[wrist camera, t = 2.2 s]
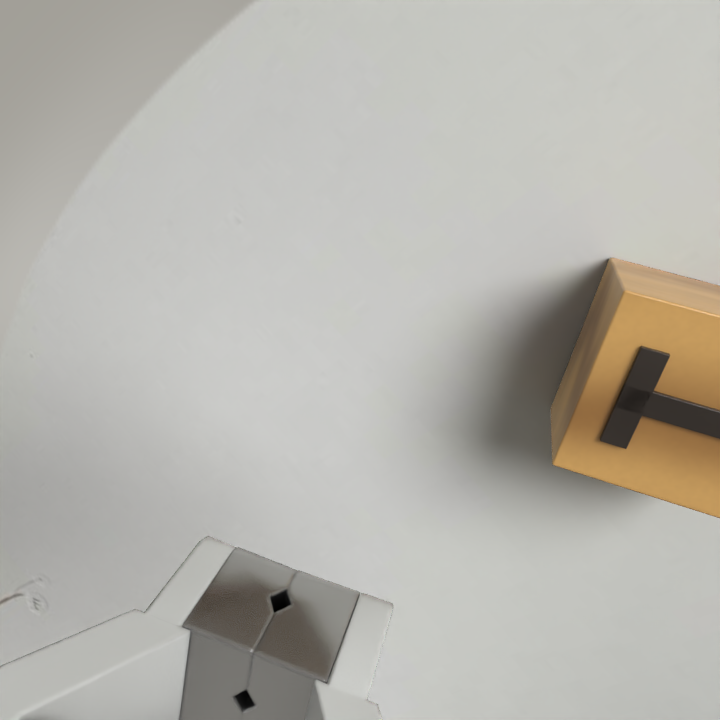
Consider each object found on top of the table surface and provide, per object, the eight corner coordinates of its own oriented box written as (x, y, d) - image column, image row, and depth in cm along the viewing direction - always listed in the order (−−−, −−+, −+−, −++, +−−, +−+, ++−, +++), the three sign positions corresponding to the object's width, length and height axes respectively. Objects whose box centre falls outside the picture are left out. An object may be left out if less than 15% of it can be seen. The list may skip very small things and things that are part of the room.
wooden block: (609, 256, 21) (624, 291, 17) (799, 306, 20) (859, 354, 16) (549, 409, 23) (551, 467, 20) (715, 459, 22) (749, 531, 19)
